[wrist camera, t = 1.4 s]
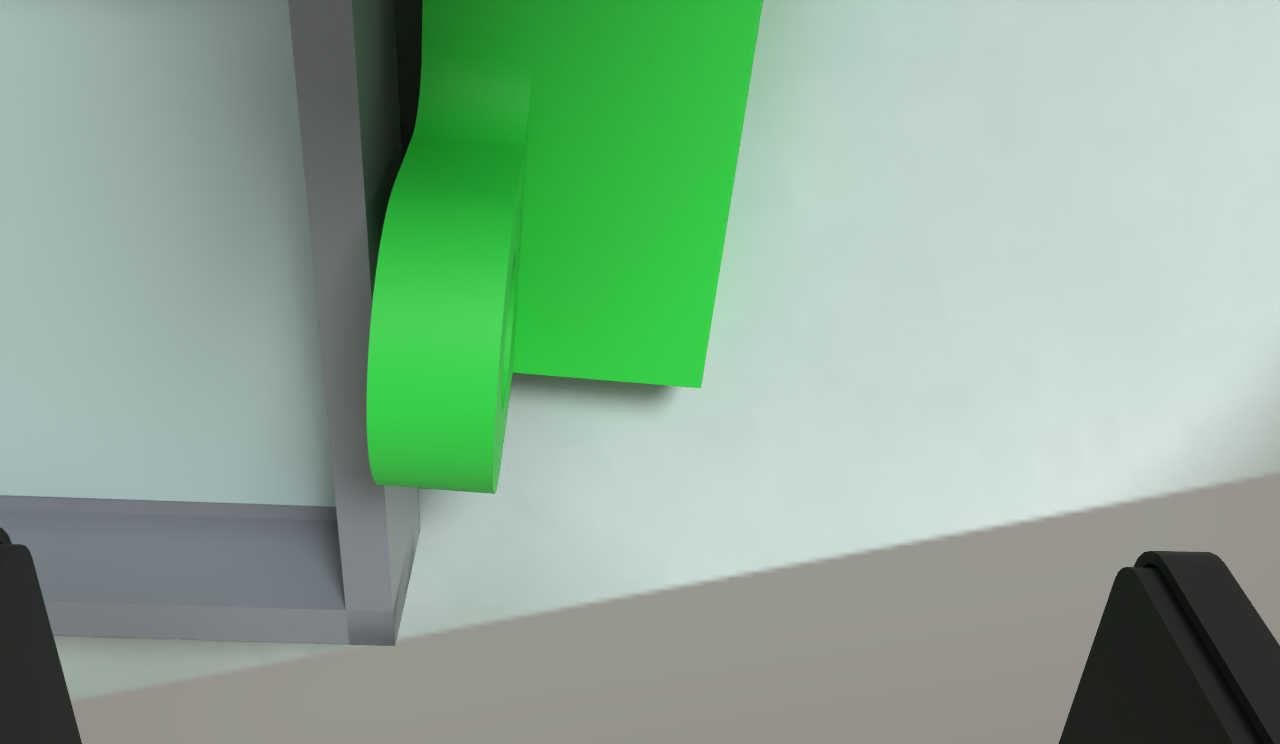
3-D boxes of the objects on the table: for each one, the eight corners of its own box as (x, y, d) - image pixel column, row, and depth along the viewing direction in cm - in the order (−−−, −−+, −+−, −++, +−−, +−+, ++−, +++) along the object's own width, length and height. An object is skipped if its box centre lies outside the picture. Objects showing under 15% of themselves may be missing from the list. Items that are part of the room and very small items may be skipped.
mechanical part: (695, 340, 28) (721, 577, 21) (429, 317, 27) (368, 551, 21) (785, -247, 21) (864, -180, 15) (441, -288, 21) (358, -238, 14)
